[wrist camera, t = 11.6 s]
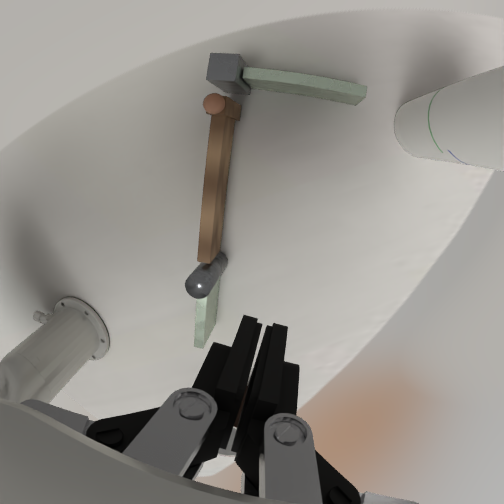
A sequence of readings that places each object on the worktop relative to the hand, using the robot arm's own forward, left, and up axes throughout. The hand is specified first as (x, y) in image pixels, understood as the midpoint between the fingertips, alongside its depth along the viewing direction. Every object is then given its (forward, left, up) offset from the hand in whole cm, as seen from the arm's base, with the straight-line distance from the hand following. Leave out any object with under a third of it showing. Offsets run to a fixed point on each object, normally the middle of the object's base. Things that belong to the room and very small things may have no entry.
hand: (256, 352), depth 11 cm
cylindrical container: (+14, +13, -27) cm, 33 cm away
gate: (-8, +3, -27) cm, 28 cm away
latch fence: (-2, +14, -27) cm, 31 cm away
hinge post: (-8, -12, -27) cm, 31 cm away
